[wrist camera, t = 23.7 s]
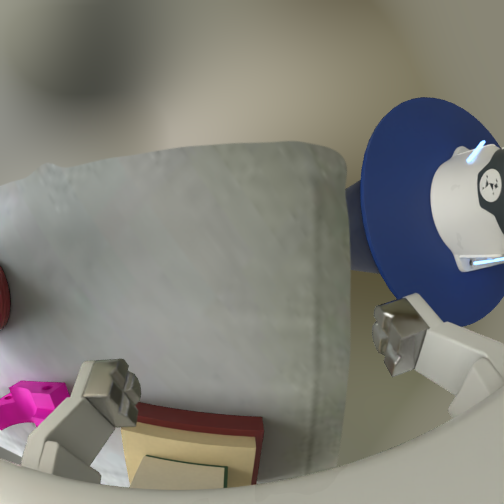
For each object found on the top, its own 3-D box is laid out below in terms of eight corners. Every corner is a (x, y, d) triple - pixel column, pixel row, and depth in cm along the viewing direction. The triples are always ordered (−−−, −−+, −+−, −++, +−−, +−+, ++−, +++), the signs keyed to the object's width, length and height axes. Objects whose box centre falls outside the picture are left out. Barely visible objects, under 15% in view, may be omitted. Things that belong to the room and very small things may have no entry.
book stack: (262, 416, 34) (265, 442, 28) (252, 481, 34) (254, 507, 28) (127, 399, 33) (111, 420, 27) (134, 466, 33) (123, 489, 27)
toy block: (64, 382, 33) (38, 402, 25) (79, 418, 33) (56, 442, 25) (5, 379, 32) (-21, 393, 25) (18, 411, 32) (-6, 428, 25)
